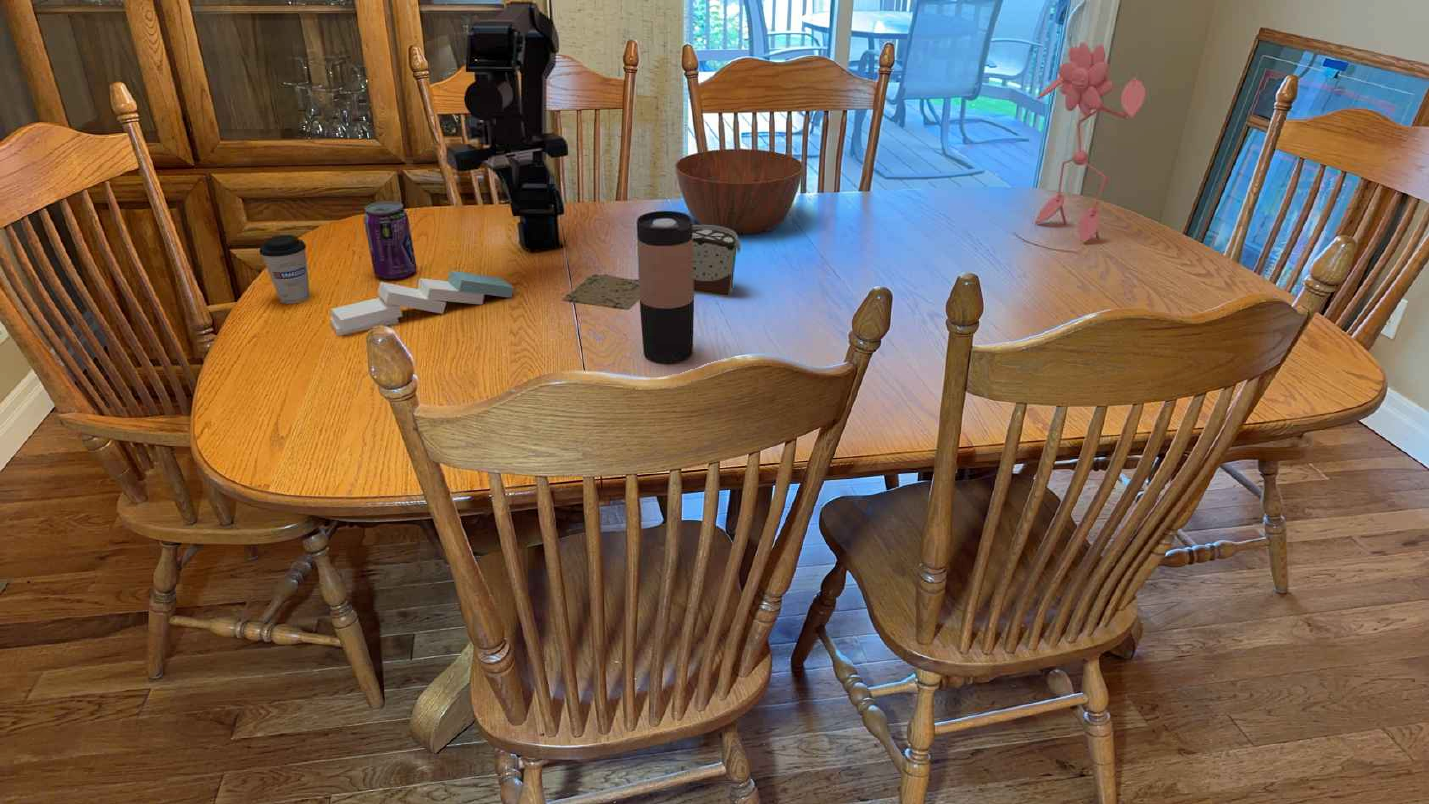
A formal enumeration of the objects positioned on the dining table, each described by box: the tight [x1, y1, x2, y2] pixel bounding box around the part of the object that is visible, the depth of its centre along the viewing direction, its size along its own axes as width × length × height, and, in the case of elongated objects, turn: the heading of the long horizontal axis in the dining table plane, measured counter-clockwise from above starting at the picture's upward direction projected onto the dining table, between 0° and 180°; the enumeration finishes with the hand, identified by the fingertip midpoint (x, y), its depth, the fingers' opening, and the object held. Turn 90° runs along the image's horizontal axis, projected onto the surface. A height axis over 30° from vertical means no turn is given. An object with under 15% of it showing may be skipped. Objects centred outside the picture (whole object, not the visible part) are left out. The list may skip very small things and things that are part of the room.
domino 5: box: [447, 269, 515, 299], centre depth 149 cm, size 2×5×9 cm
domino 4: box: [416, 278, 485, 305], centre depth 147 cm, size 2×5×9 cm
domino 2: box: [329, 316, 399, 337], centre depth 142 cm, size 2×5×9 cm
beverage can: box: [363, 200, 418, 280], centre depth 157 cm, size 7×7×12 cm
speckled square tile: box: [562, 273, 640, 311], centre depth 153 cm, size 12×12×1 cm
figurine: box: [1012, 42, 1146, 254], centre depth 168 cm, size 15×26×35 cm, turn 23°
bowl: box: [675, 148, 805, 235], centre depth 181 cm, size 25×25×11 cm
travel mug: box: [636, 210, 695, 365], centre depth 128 cm, size 8×8×20 cm
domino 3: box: [376, 281, 447, 315], centre depth 144 cm, size 2×5×9 cm
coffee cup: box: [258, 234, 311, 305], centre depth 148 cm, size 7×7×10 cm
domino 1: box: [330, 296, 403, 331], centre depth 141 cm, size 2×5×9 cm
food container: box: [692, 224, 742, 298], centre depth 152 cm, size 12×6×10 cm, turn 71°
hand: (513, 203), depth 152 cm, fingers closed
